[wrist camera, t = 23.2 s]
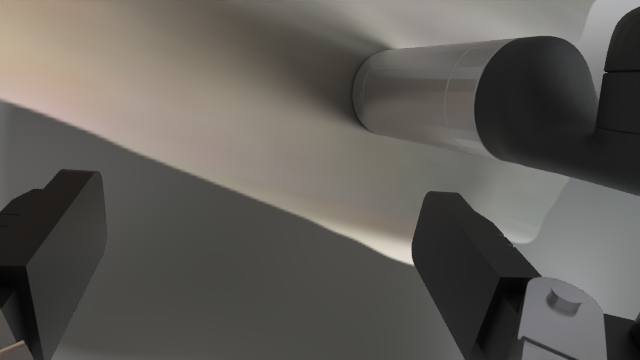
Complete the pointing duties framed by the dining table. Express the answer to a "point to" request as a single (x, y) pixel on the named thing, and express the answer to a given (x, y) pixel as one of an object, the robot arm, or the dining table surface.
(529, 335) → the robot arm
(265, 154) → the dining table surface
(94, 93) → the dining table surface
